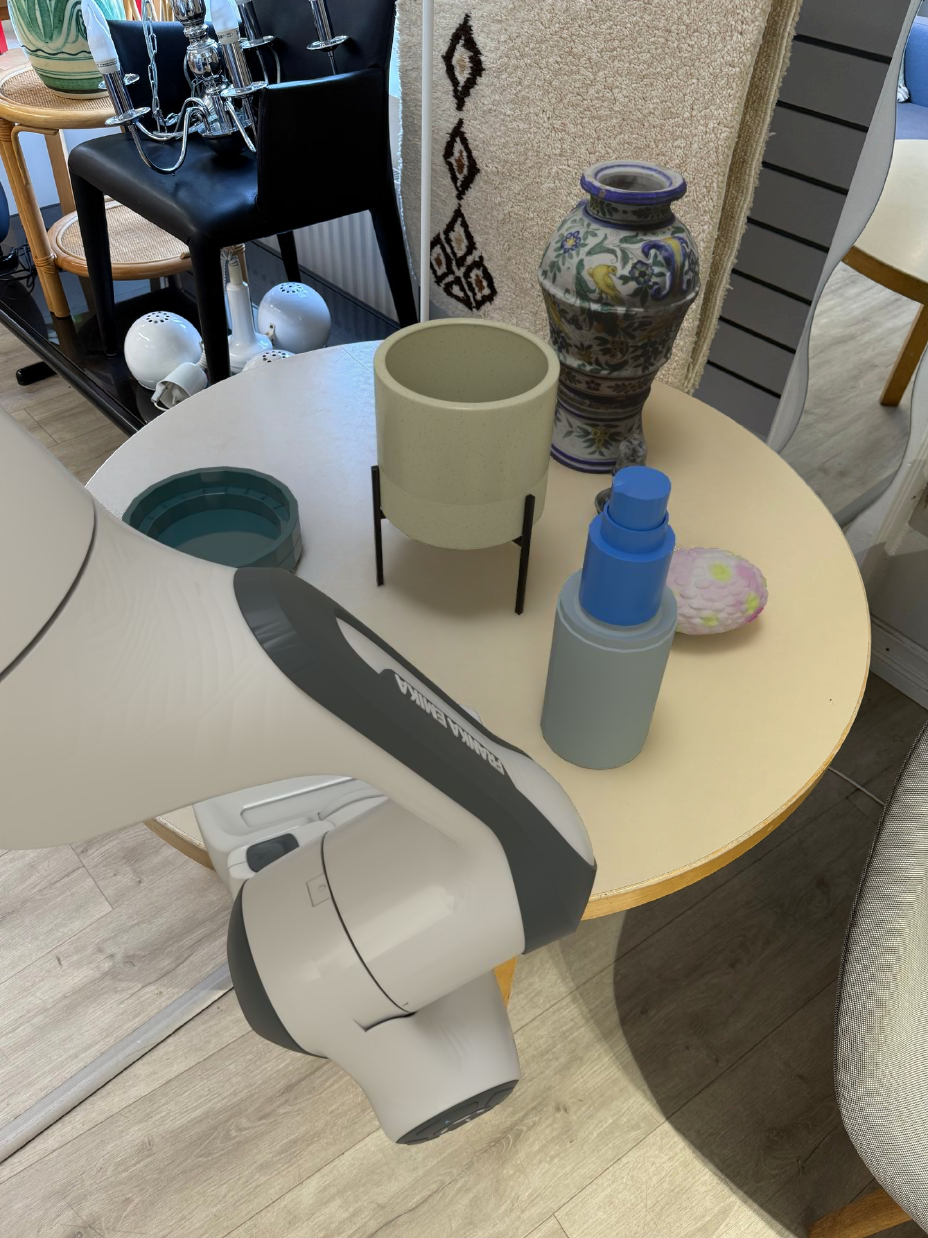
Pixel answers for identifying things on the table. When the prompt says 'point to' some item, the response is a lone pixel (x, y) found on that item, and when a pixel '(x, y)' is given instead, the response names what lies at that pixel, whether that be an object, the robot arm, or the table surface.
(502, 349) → the planter
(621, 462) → the salt shaker
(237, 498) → the dish
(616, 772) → the table surface
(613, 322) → the vase
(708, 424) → the table surface
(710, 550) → the decorative item
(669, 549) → the spray bottle
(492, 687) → the table surface
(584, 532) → the table surface
